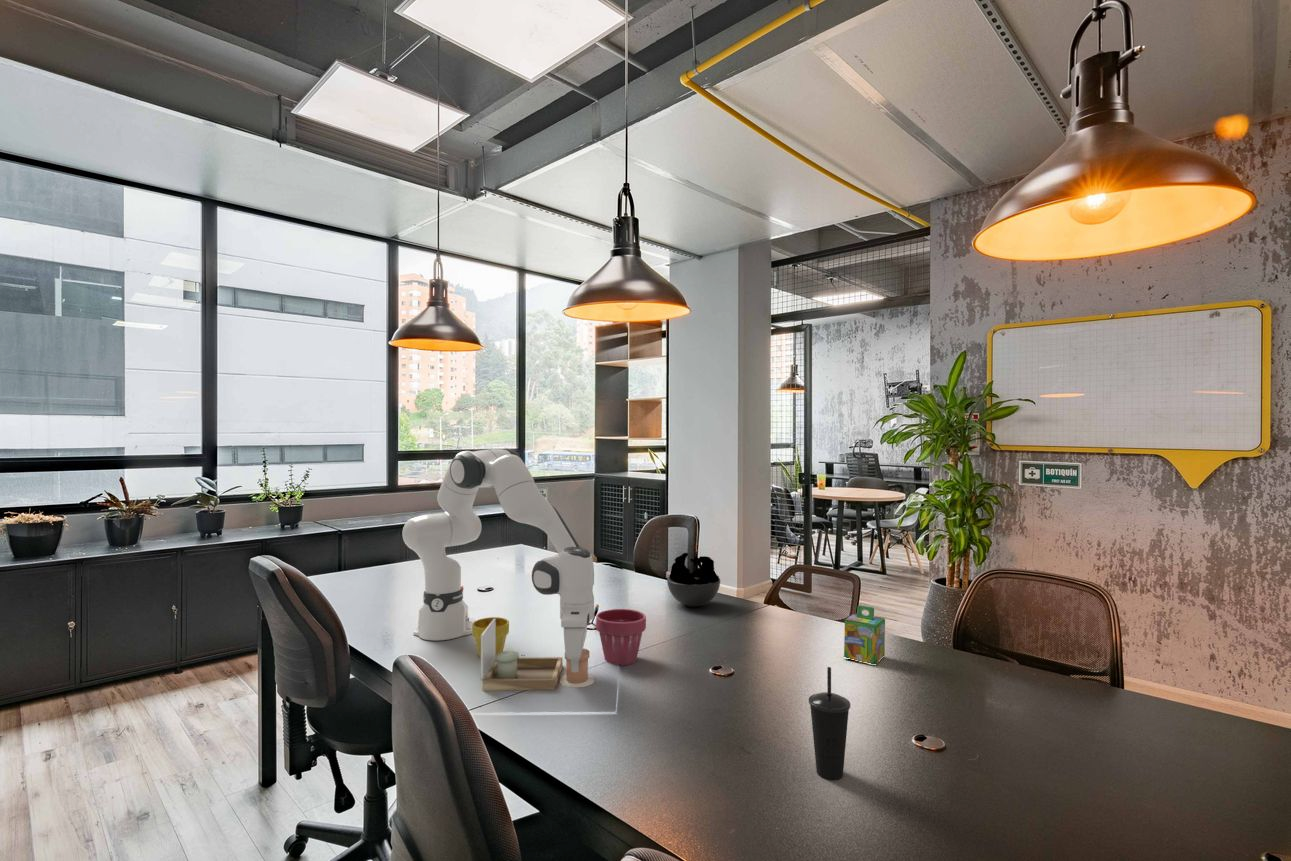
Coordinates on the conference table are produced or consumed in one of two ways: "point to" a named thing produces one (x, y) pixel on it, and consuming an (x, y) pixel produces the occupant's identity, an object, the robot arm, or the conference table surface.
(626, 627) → the plant pot
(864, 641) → the chalk box
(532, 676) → the brown wooden tray
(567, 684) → the cream disc
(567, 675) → the peach mushroom knob
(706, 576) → the coal bowl
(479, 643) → the plant pot
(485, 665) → the propped lid
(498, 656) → the sage pot
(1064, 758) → the conference table surface
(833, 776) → the drinking cup
